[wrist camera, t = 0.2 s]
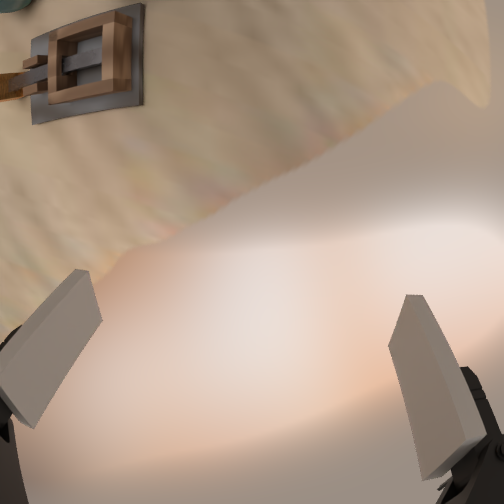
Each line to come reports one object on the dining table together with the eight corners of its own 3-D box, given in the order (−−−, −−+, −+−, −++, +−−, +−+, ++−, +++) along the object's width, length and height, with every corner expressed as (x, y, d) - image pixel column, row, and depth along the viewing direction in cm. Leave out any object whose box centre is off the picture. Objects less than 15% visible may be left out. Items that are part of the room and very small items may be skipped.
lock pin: (16, 76, 32) (-23, 80, 24) (120, 42, 30) (83, 34, 22) (16, 99, 34) (-23, 106, 26) (120, 70, 32) (82, 68, 24)
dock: (36, 39, 29) (11, 38, 24) (144, 4, 28) (123, -7, 23) (37, 123, 36) (11, 130, 31) (143, 104, 34) (121, 107, 29)
